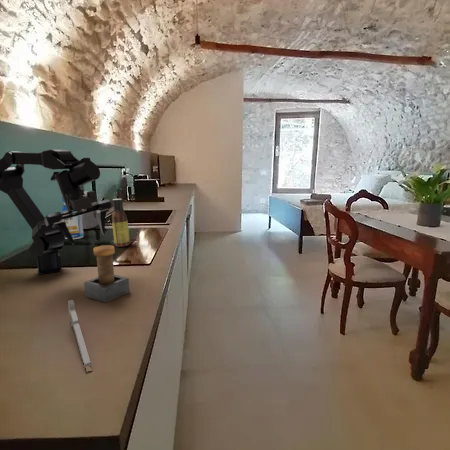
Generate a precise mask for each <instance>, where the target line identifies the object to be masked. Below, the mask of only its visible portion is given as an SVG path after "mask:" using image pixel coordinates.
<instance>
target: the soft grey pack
mask: <svg viewBox="0 0 450 450" xmlns="http://www.w3.org/2000/svg"><path fill="white" fill-rule="evenodd" d="M83 192H84V194H85V195H87V192H90V191H89V190H85V191H83ZM97 202H99V199H98V198H97ZM97 202H94V203H92V206H94V204H95V203H97ZM83 210H84V209H83ZM81 211H82V210H81ZM84 211H86V209H85V210H84ZM96 214H98V213H97V211H94V212H90V213H87V214H83V215H82V224H83V230H89V229H93V228H96V227H99V223H98V220H97V217H96Z"/></svg>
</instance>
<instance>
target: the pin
mask: <svg viewBox="0 0 450 450" xmlns="http://www.w3.org/2000/svg"><path fill="white" fill-rule="evenodd" d="M115 253H116V252H115V245H110V244H109V245H105V244H104V245H99V246H95V247H93V255H94V256H96V257H95V258H96V266H97V277H98V279H99V284H102V285H108V284H110V283H113V282H115V280H114V275H115V269H114V256H113V255H114V254H115Z"/></svg>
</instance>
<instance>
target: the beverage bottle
mask: <svg viewBox="0 0 450 450" xmlns="http://www.w3.org/2000/svg"><path fill="white" fill-rule="evenodd" d="M61 198H62V201H61V202H62V203H63V206H62V208H61V212H62V214H63V213H67V212H68V211H67V207H66V204H65V202H64V200H63V196H62V195H61ZM76 212H77V211H76ZM72 213H75V212H72ZM64 221H65V223H66V226H67V228H68V230H69V232H70V234H71V236H72V238H73V240H78V239H83V238H84V235H85V233H84V229H83V224H82V215H79V216H76V217H72V218H68V219H65V220H63V222H64ZM64 236H65V235H64ZM65 240H68V239H67V238H66V237H65Z"/></svg>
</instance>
